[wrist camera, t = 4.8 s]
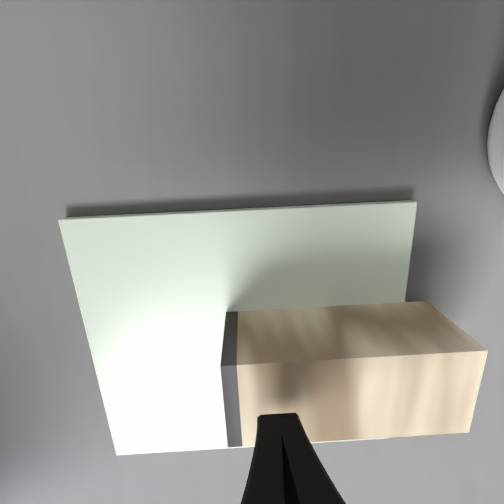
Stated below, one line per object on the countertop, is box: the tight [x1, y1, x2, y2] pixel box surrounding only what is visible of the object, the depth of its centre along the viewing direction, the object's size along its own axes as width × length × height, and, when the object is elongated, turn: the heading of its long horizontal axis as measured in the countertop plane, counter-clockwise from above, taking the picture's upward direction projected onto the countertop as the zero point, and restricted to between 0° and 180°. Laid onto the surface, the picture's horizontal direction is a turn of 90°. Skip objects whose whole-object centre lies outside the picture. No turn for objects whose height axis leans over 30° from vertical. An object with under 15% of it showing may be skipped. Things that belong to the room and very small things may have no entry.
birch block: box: [220, 301, 488, 447], centre depth 14 cm, size 4×4×10 cm
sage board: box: [58, 200, 417, 455], centre depth 16 cm, size 16×14×1 cm
